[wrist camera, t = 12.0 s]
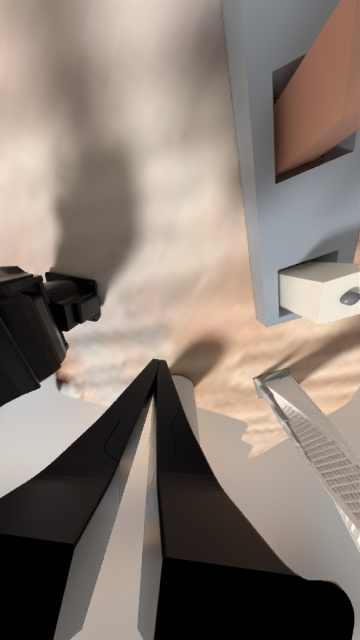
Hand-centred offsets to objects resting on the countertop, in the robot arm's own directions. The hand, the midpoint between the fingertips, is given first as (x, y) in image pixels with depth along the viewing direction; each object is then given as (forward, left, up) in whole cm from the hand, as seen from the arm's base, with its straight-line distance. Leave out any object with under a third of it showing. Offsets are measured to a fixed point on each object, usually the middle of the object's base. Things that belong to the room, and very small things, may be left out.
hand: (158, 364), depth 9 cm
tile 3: (+9, +18, -13) cm, 24 cm away
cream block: (+16, +6, -13) cm, 21 cm away
